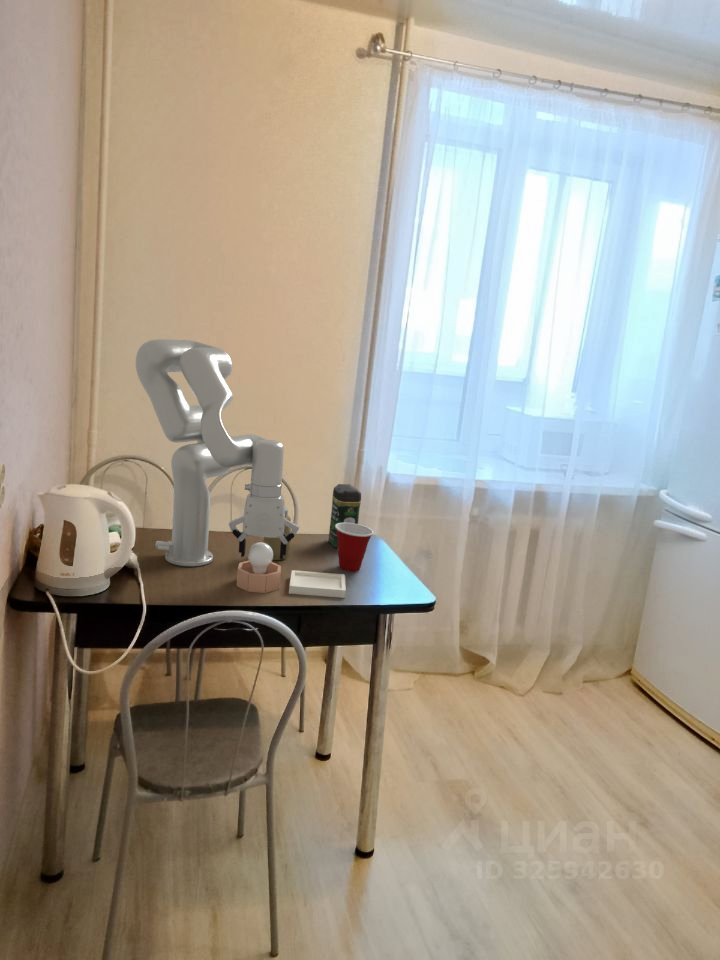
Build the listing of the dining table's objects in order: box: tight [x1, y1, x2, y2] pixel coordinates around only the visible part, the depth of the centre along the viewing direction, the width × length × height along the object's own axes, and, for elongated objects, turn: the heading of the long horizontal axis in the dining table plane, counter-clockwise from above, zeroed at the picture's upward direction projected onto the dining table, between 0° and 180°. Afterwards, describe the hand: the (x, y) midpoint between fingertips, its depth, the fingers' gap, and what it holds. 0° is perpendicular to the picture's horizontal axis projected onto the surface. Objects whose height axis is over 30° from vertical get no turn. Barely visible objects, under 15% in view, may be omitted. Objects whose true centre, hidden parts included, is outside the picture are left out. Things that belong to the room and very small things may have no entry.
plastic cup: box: [335, 522, 374, 573], centre depth 200 cm, size 11×11×12 cm
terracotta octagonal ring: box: [236, 560, 282, 594], centre depth 183 cm, size 11×11×4 cm
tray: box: [288, 569, 347, 599], centre depth 185 cm, size 14×11×2 cm
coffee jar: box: [328, 483, 362, 549], centre depth 219 cm, size 10×8×19 cm
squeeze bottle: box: [262, 507, 292, 561], centre depth 202 cm, size 8×8×18 cm
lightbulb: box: [247, 541, 273, 574], centre depth 182 cm, size 6×6×11 cm
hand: (262, 556), depth 182 cm, fingers open, 9 cm apart
